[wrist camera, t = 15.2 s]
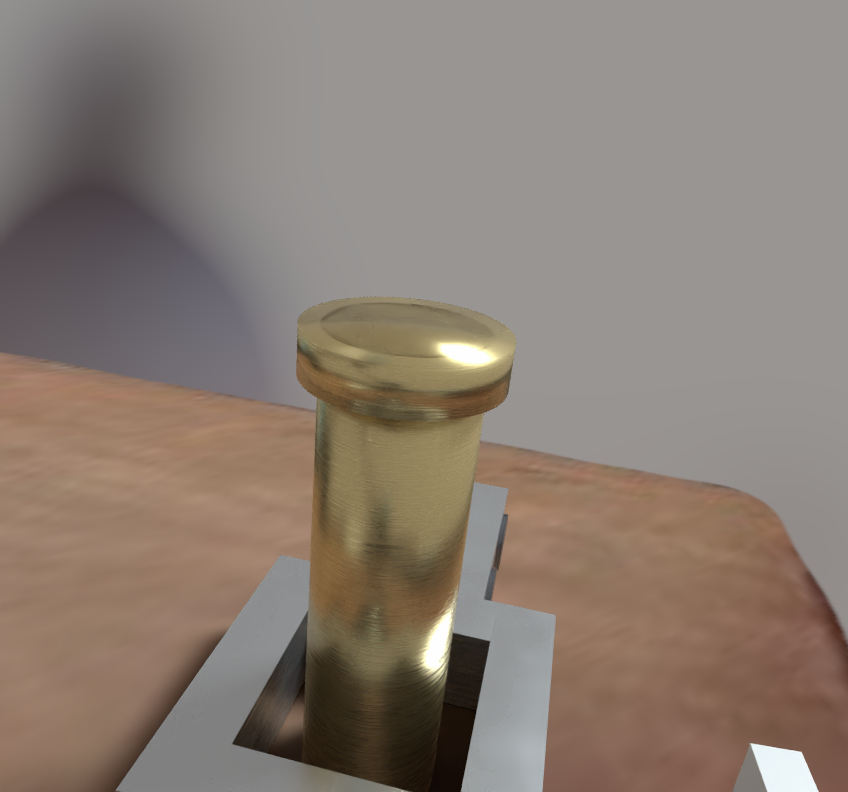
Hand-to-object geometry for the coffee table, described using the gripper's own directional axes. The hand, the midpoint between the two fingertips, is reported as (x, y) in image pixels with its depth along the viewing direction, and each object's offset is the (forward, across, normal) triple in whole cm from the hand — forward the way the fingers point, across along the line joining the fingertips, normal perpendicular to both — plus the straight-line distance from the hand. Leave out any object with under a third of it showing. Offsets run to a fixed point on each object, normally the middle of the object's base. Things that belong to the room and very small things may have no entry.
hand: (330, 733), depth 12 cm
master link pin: (+7, 0, -9) cm, 12 cm away
